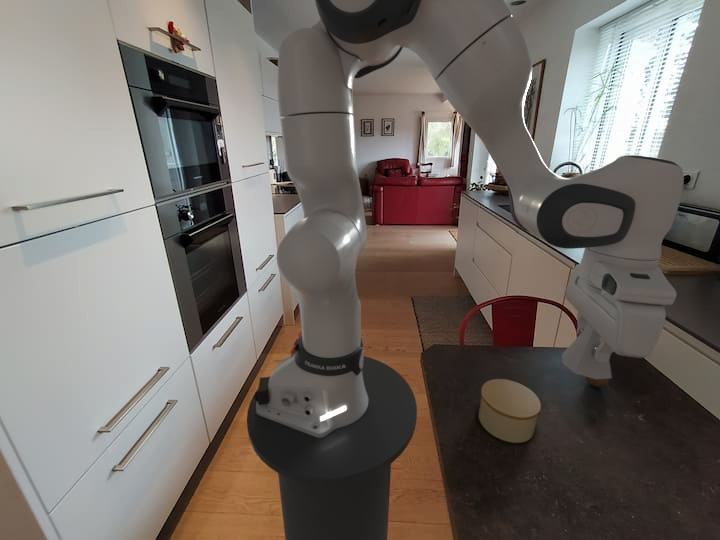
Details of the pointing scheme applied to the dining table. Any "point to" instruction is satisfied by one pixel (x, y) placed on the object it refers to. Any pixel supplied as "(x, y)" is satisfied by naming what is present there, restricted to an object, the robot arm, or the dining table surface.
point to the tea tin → (508, 410)
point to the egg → (597, 381)
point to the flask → (586, 356)
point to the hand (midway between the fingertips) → (590, 348)
